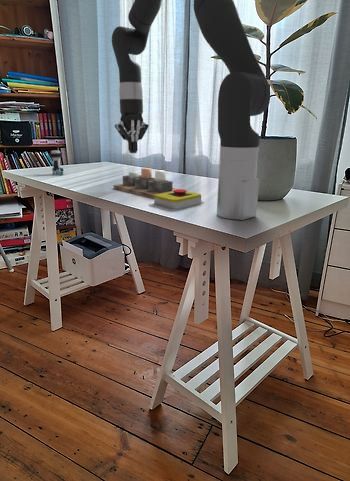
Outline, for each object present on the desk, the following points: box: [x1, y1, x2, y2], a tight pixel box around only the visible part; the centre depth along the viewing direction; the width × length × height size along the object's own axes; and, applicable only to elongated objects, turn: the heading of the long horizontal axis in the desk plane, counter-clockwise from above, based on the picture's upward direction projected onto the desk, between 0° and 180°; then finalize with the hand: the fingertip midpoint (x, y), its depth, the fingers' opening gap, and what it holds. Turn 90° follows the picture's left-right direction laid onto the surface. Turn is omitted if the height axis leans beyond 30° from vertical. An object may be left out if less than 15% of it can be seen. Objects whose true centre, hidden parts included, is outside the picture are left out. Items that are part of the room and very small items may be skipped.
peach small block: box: [140, 167, 153, 180], centre depth 114 cm, size 3×3×4 cm
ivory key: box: [154, 169, 167, 183], centre depth 109 cm, size 3×3×4 cm
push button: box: [48, 150, 64, 176], centre depth 145 cm, size 7×5×10 cm
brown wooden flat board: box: [113, 174, 176, 200], centre depth 115 cm, size 22×12×4 cm, turn 44°
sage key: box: [128, 171, 140, 177], centre depth 120 cm, size 3×3×4 cm
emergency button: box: [148, 188, 205, 212], centre depth 98 cm, size 9×4×15 cm
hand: (133, 152), depth 117 cm, fingers closed
